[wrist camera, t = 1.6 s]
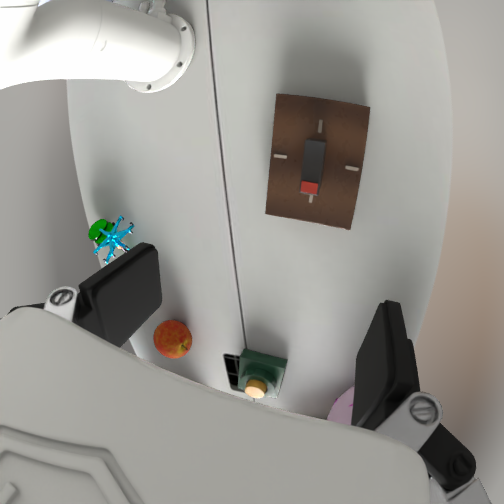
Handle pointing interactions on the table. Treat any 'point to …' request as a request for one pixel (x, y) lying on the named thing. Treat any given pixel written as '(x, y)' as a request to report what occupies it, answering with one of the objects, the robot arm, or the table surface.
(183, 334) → the fruit
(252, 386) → the brass button
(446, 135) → the table surface
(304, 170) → the pointer knob
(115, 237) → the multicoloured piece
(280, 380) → the button box
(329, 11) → the table surface
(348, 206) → the dial panel
